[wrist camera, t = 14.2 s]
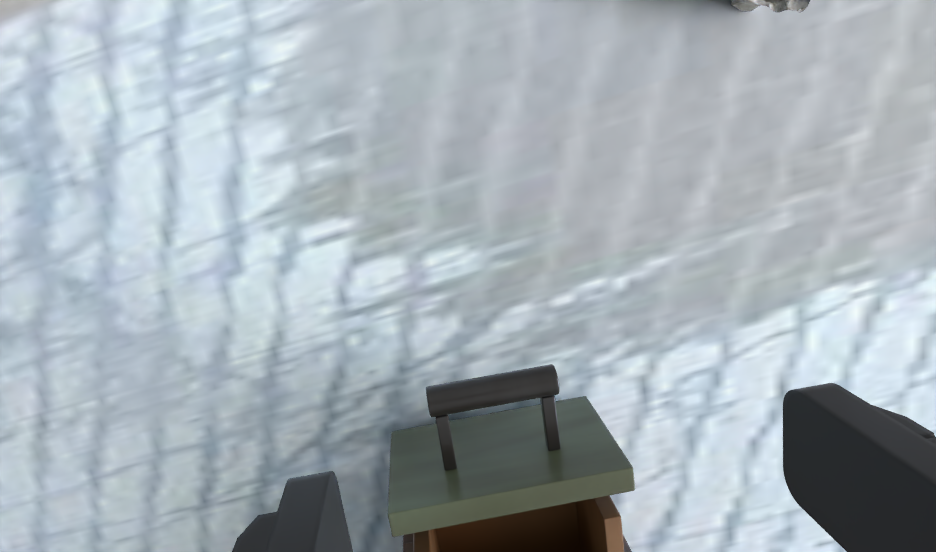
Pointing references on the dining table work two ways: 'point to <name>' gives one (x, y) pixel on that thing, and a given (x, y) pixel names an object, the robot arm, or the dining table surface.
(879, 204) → the dining table surface
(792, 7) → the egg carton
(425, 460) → the drawer
